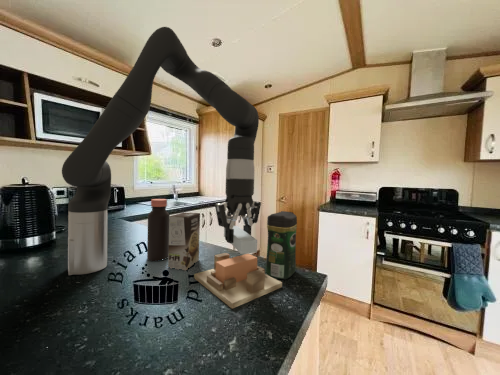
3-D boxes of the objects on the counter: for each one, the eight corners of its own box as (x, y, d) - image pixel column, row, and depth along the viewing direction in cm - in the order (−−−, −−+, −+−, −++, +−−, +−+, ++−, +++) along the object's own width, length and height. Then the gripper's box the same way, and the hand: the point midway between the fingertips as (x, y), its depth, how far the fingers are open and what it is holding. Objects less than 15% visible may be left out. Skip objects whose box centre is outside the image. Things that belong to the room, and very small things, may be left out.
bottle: (169, 253, 80) (170, 198, 79) (168, 260, 73) (169, 200, 72) (148, 255, 77) (149, 198, 77) (145, 262, 71) (146, 200, 70)
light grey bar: (240, 254, 51) (241, 241, 51) (223, 236, 66) (224, 226, 66) (256, 252, 52) (257, 239, 52) (236, 235, 67) (236, 225, 67)
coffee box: (186, 271, 66) (188, 217, 65) (167, 268, 67) (168, 215, 66) (199, 260, 75) (201, 212, 74) (182, 258, 76) (183, 211, 75)
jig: (232, 308, 47) (232, 284, 47) (194, 278, 61) (194, 259, 61) (281, 287, 58) (282, 266, 58) (239, 265, 72) (240, 248, 71)
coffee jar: (274, 265, 72) (277, 208, 72) (298, 271, 68) (300, 211, 68) (260, 275, 64) (263, 212, 63) (286, 283, 60) (289, 215, 59)
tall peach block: (223, 286, 54) (224, 266, 54) (215, 280, 57) (215, 261, 57) (256, 275, 62) (257, 257, 61) (247, 270, 65) (248, 253, 64)
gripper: (251, 177, 66) (249, 234, 67) (209, 176, 57) (207, 241, 57) (269, 178, 60) (267, 239, 61) (225, 176, 51) (223, 249, 52)
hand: (238, 240), depth 59 cm, fingers closed on light grey bar, 5 cm apart
